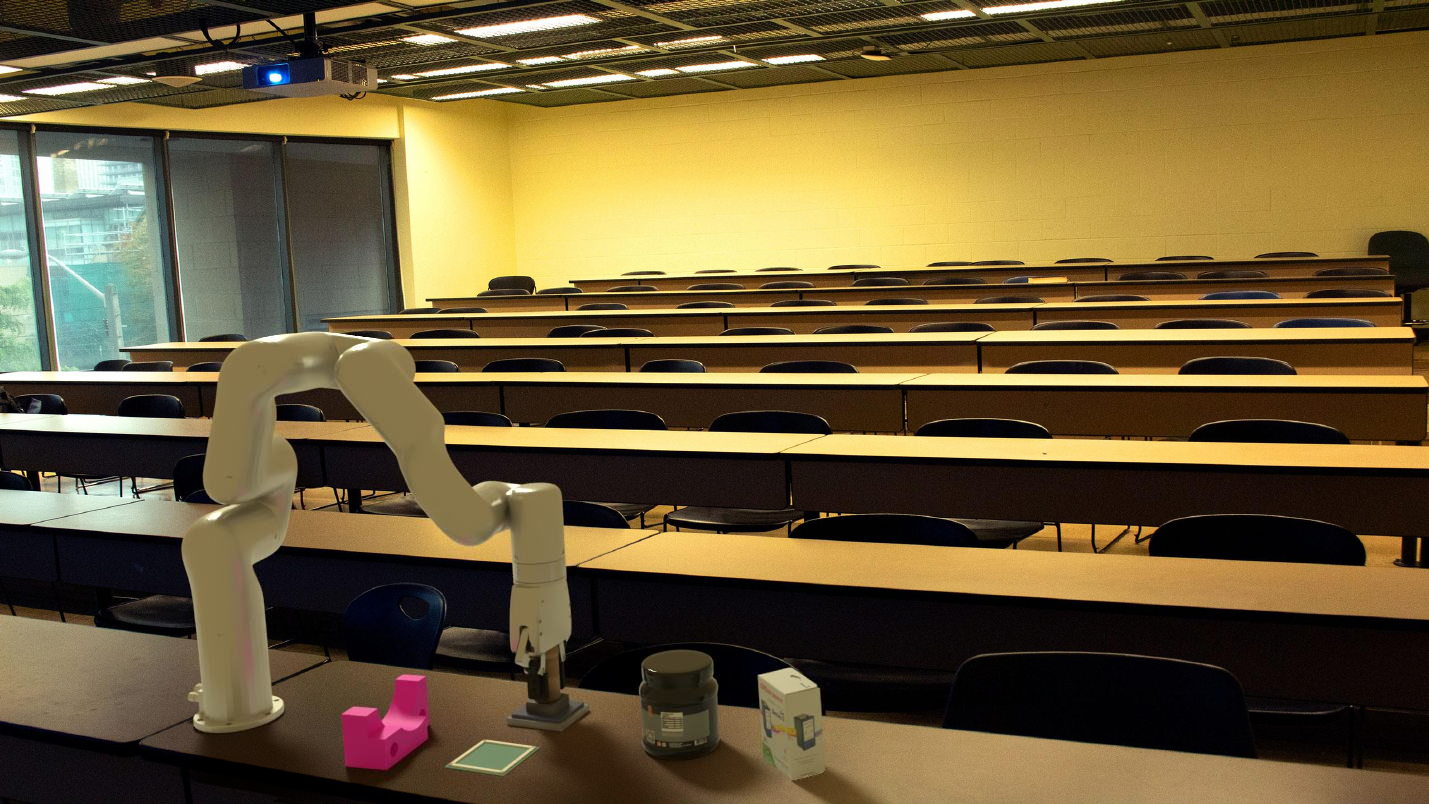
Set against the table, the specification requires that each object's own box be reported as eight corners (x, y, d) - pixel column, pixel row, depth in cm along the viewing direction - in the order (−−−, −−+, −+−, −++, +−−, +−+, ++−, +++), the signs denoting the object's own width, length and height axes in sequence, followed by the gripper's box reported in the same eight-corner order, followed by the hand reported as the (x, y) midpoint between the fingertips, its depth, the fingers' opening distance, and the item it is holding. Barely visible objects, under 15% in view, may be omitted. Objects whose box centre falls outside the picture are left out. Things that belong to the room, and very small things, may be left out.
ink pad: (507, 724, 162) (506, 714, 161) (536, 704, 169) (535, 694, 169) (561, 732, 158) (561, 721, 158) (589, 710, 166) (588, 701, 165)
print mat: (444, 768, 148) (444, 765, 148) (483, 741, 156) (483, 738, 156) (503, 777, 144) (503, 774, 144) (539, 749, 153) (539, 745, 153)
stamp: (526, 711, 162) (522, 641, 161) (542, 700, 166) (538, 631, 165) (553, 715, 161) (549, 644, 159) (569, 703, 165) (565, 634, 163)
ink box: (826, 777, 141) (823, 686, 140) (789, 786, 139) (786, 693, 138) (794, 751, 149) (791, 665, 148) (759, 759, 147) (756, 672, 146)
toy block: (386, 772, 148) (382, 717, 147) (345, 768, 150) (341, 714, 149) (444, 727, 162) (441, 677, 162) (406, 724, 164) (403, 674, 163)
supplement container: (698, 725, 159) (694, 643, 157) (734, 752, 149) (730, 664, 148) (629, 742, 154) (625, 657, 153) (662, 771, 145) (657, 680, 143)
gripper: (546, 554, 170) (553, 671, 172) (484, 584, 155) (492, 712, 157) (590, 557, 167) (596, 676, 169) (531, 587, 152) (539, 718, 154)
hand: (546, 692), depth 163 cm, fingers closed on stamp, 3 cm apart
